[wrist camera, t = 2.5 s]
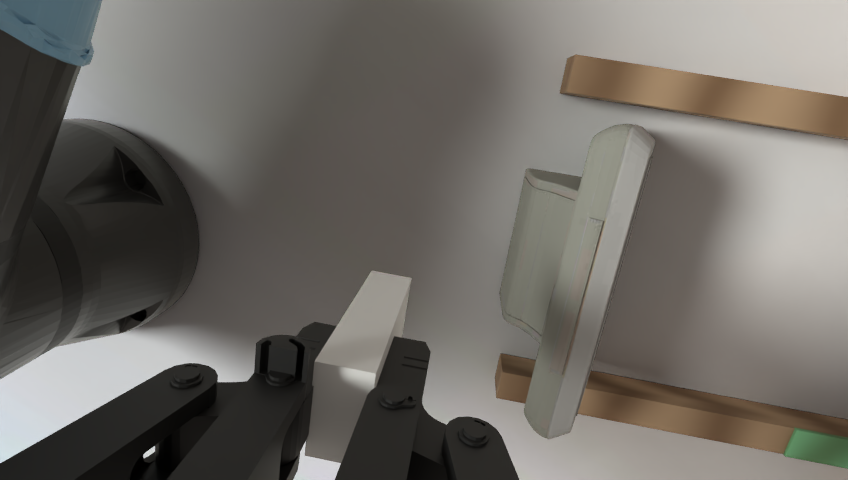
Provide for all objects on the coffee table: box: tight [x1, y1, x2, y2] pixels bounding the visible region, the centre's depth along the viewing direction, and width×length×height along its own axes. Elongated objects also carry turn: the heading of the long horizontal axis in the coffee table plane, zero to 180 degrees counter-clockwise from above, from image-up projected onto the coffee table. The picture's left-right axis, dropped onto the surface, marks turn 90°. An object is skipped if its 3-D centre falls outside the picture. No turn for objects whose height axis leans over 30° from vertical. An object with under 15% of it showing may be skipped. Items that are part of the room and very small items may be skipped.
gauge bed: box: [495, 55, 848, 469], centre depth 30 cm, size 28×22×3 cm
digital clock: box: [500, 124, 655, 439], centre depth 27 cm, size 16×9×11 cm, turn 160°
